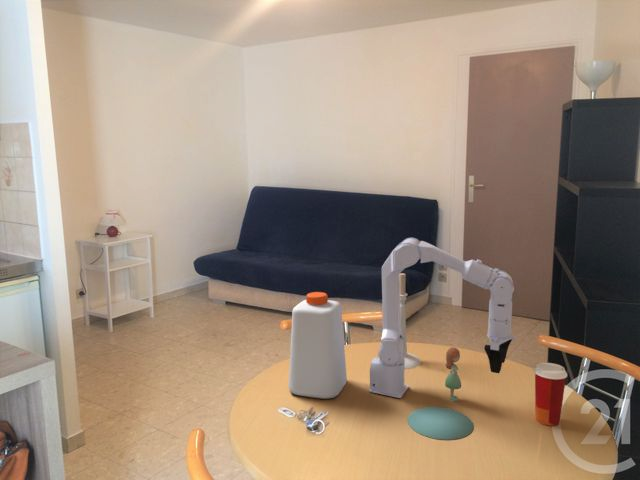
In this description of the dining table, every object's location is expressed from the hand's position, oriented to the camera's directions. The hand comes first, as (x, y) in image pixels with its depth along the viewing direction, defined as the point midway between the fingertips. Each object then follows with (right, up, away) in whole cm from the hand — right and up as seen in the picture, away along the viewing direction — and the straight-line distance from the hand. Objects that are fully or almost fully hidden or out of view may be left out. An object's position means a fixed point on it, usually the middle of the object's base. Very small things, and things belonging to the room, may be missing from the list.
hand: (497, 367), depth 140 cm
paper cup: (+10, -12, -8) cm, 17 cm away
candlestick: (-21, -6, +30) cm, 37 cm away
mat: (-17, -12, -8) cm, 23 cm away
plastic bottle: (-48, -9, +13) cm, 51 cm away
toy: (-11, -10, +4) cm, 16 cm away
